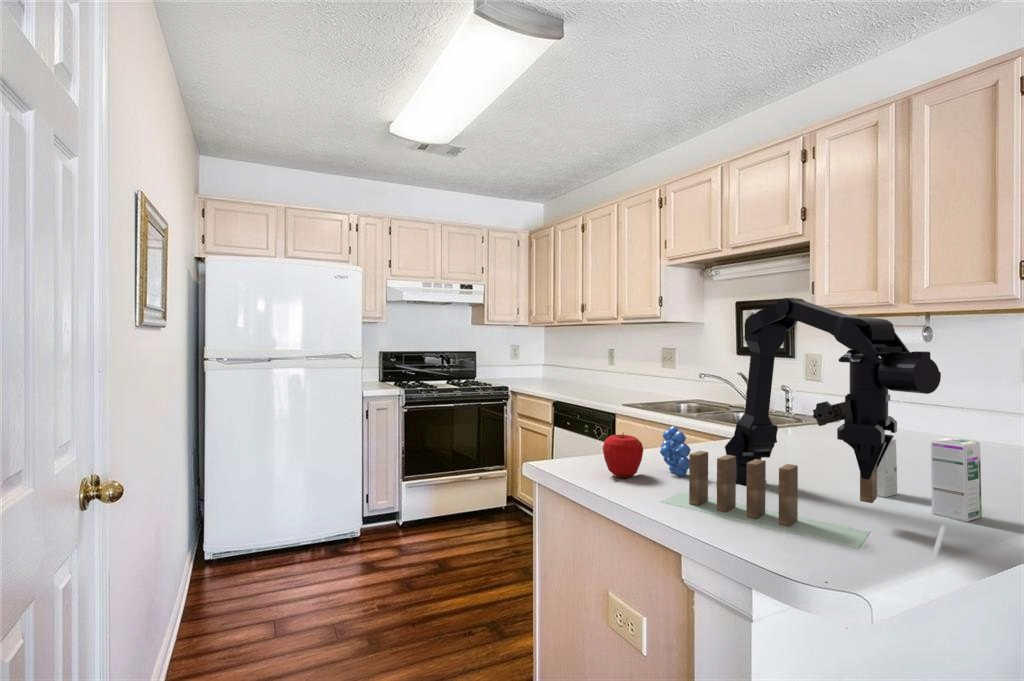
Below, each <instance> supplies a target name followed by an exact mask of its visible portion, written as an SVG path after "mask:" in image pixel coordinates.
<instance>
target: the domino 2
mask: <svg viewBox="0 0 1024 681" xmlns="http://www.w3.org/2000/svg"><path fill="white" fill-rule="evenodd" d="M736 489H737V484H736V456H732V455H726V454H725V455H722V456H720V457H717V458H716V499H717V511H721V512H725V513H727V512H728V511H730V510H732V509H733V508H735V507H736V503H737V501H736V500H737V498H736V497H737V496H736V493H737V490H736Z"/></svg>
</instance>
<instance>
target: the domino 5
mask: <svg viewBox="0 0 1024 681" xmlns="http://www.w3.org/2000/svg"><path fill="white" fill-rule="evenodd" d="M877 499H878V496H877V464H876V466H875V469H874V471H873V473H872V475H871V477H870V479H869V480H868V479H863V478H862V477H861V473H860V472H859V501H860V502H864V503H869V504H873V503H874V502H875V501H876V500H877Z"/></svg>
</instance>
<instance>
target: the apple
mask: <svg viewBox="0 0 1024 681" xmlns="http://www.w3.org/2000/svg"><path fill="white" fill-rule="evenodd" d="M602 452H603V458H604V461H605V463H606V467H607V469H608V471H609V472H610V473H611V474H612V475H613V476H614V477H616V478H623V479H624V478H625V479H630V478H633V476H634V475H636V474H637V472H638V471H639V468H640V465H641V464H642V460H643V456H644V447H643V443H642V442H641V441H640V440H639V439H638V438H637V437H636V436H633V435H629V434H625V433H624V432H622V434H612V435H610V436H608V437H607V438H605V440H604V442H603V446H602Z"/></svg>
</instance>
